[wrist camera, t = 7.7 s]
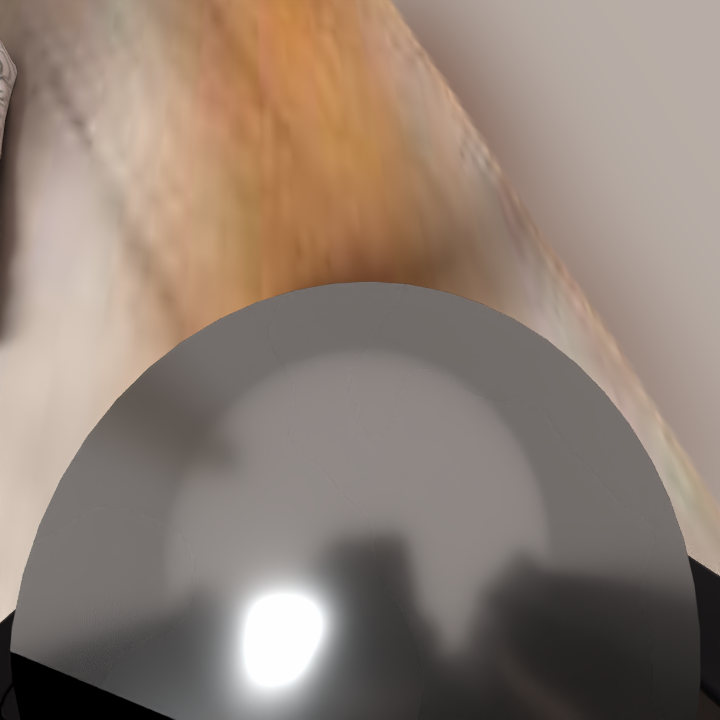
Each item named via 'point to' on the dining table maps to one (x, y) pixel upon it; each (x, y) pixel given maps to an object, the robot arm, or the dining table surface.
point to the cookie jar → (5, 86)
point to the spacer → (359, 532)
